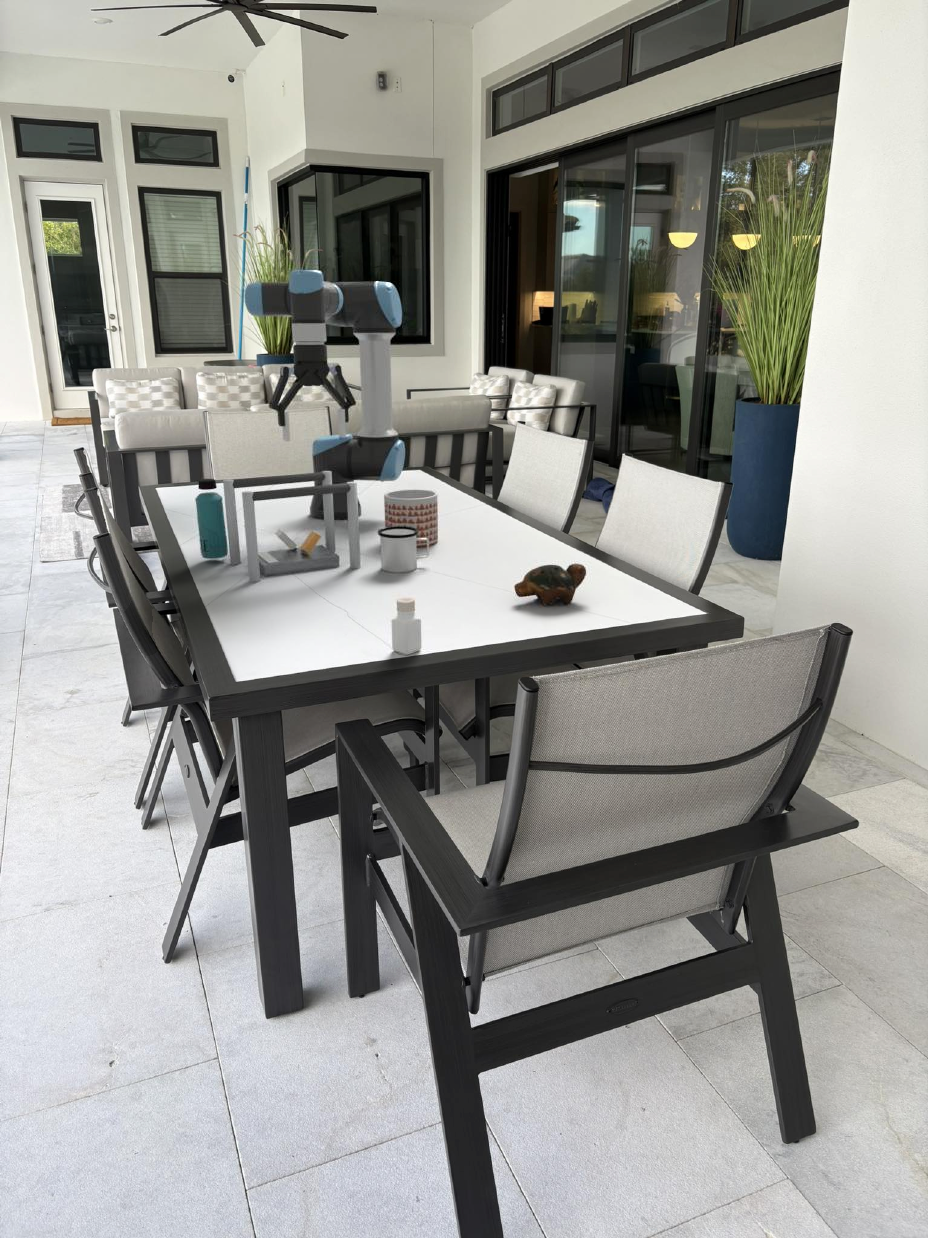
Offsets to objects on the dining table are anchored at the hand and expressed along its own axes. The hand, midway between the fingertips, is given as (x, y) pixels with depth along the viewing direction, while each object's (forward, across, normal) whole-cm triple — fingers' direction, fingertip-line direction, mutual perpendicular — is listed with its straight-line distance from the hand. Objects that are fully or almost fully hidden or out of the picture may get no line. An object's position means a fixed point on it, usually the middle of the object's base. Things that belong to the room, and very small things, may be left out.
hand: (315, 438), depth 208 cm
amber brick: (+26, +5, +2) cm, 27 cm away
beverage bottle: (+29, +23, -11) cm, 39 cm away
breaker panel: (+29, +7, +2) cm, 30 cm away
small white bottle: (+30, +8, +66) cm, 73 cm away
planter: (+29, -27, -5) cm, 40 cm away
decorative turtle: (+29, -30, +55) cm, 69 cm away
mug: (+29, -14, +17) cm, 37 cm away
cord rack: (+29, +7, +2) cm, 30 cm away
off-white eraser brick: (+26, +5, -4) cm, 27 cm away
